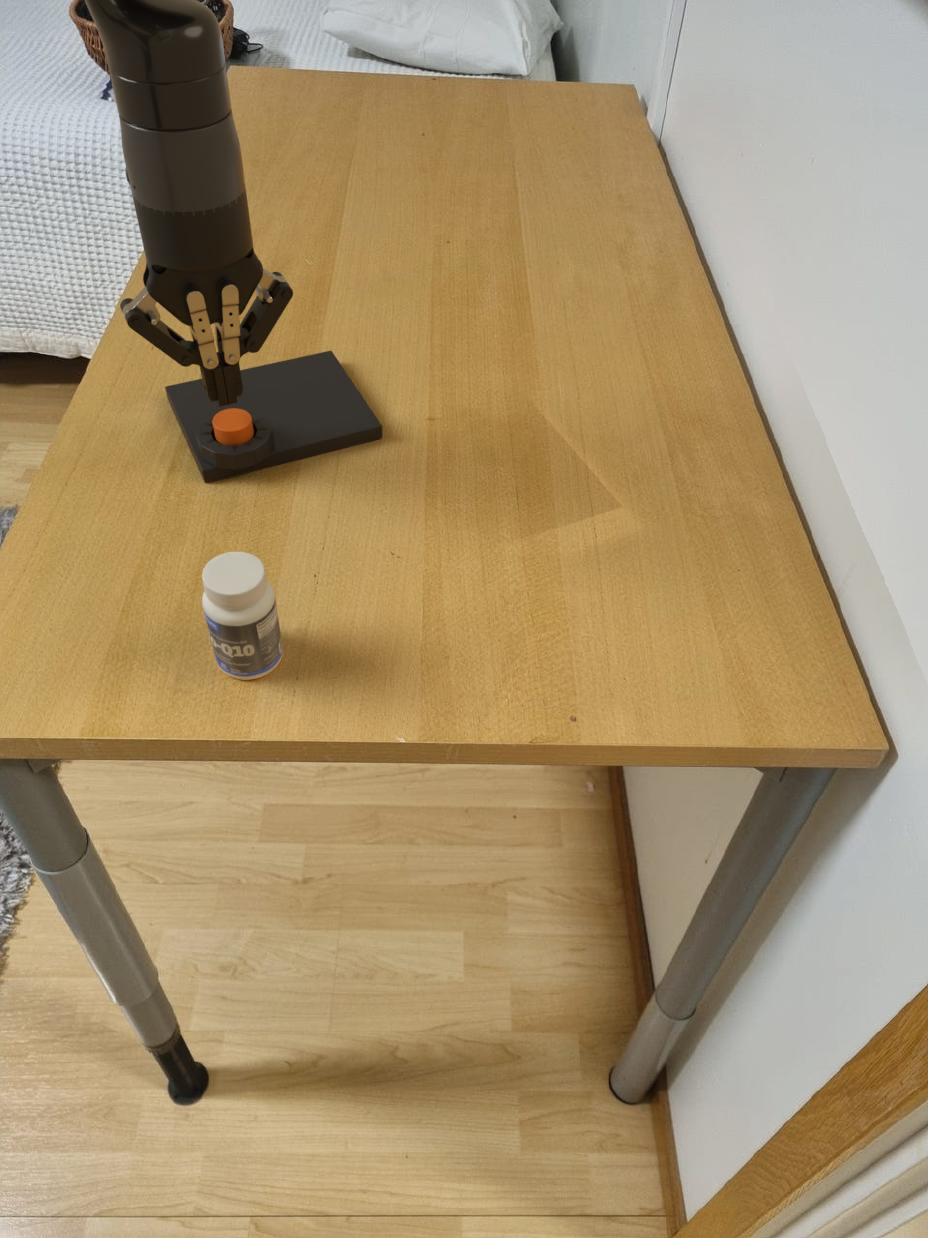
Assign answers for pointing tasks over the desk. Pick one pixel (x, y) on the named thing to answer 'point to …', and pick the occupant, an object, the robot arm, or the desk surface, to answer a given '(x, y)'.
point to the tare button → (233, 426)
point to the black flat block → (277, 416)
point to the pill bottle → (241, 615)
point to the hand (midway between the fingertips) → (225, 399)
